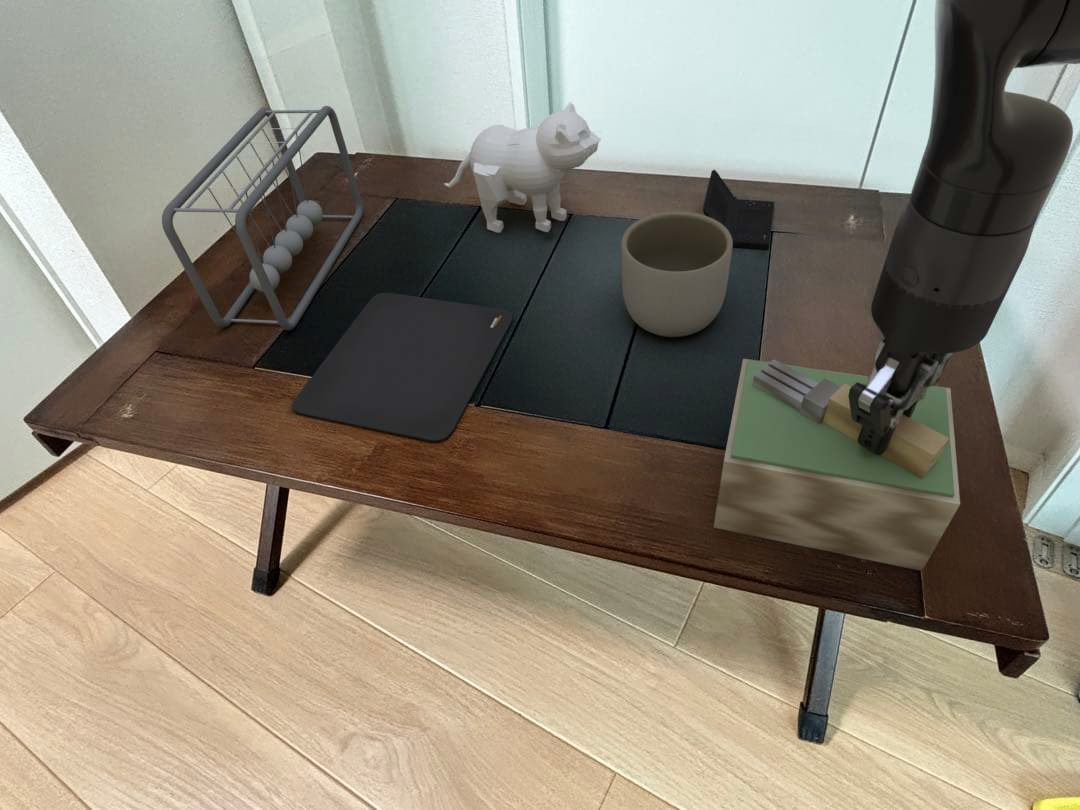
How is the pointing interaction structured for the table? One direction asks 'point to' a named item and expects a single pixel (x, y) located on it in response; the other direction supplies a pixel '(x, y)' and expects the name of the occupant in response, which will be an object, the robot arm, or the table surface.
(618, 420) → the table surface
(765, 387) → the fork
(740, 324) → the table surface
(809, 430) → the green rectangular slab
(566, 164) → the cat figurine
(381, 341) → the mouse pad
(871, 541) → the stand
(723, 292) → the planter
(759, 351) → the table surface
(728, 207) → the handheld gaming console
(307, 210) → the newton's cradle
